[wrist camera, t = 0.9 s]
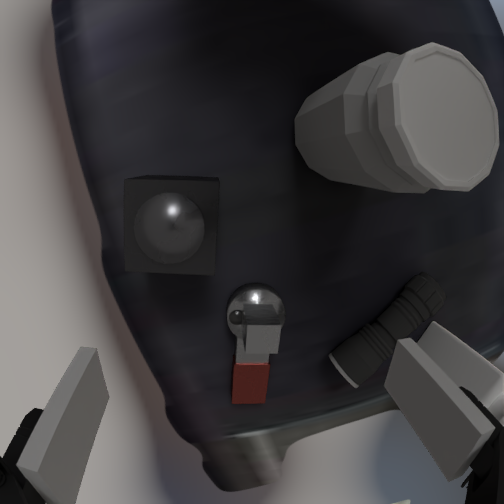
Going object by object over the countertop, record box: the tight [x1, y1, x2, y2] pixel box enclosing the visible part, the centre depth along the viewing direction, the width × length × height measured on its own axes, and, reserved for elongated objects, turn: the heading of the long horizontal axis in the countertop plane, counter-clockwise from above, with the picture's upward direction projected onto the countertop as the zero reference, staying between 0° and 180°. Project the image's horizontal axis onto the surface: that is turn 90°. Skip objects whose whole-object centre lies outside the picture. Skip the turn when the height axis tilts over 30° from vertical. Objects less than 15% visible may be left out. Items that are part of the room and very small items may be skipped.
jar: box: [295, 42, 499, 193], centre depth 21 cm, size 10×10×18 cm
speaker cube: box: [124, 175, 220, 275], centre depth 26 cm, size 7×7×8 cm
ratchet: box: [226, 283, 286, 404], centre depth 32 cm, size 15×6×6 cm, turn 176°
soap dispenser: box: [416, 321, 504, 426], centre depth 28 cm, size 6×6×22 cm
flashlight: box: [329, 272, 446, 388], centre depth 34 cm, size 15×5×5 cm, turn 133°
